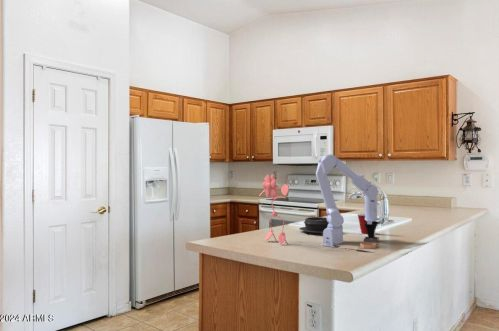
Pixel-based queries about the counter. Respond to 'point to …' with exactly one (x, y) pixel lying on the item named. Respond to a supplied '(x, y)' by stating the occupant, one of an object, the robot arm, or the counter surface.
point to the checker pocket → (371, 240)
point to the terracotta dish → (368, 245)
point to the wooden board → (365, 248)
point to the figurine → (271, 190)
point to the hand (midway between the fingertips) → (371, 237)
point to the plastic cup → (362, 223)
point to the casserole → (315, 225)
